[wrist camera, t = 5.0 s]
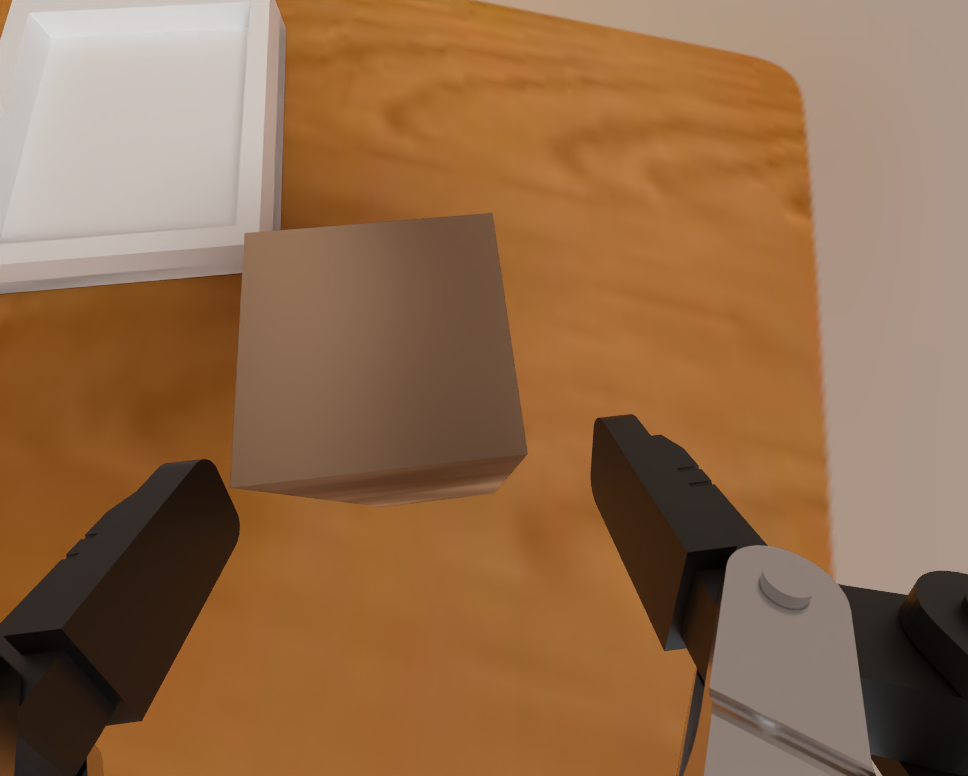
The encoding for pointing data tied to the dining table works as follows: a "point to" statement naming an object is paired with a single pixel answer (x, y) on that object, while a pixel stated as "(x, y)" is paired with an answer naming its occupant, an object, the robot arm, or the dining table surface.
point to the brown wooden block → (375, 363)
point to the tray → (137, 138)
